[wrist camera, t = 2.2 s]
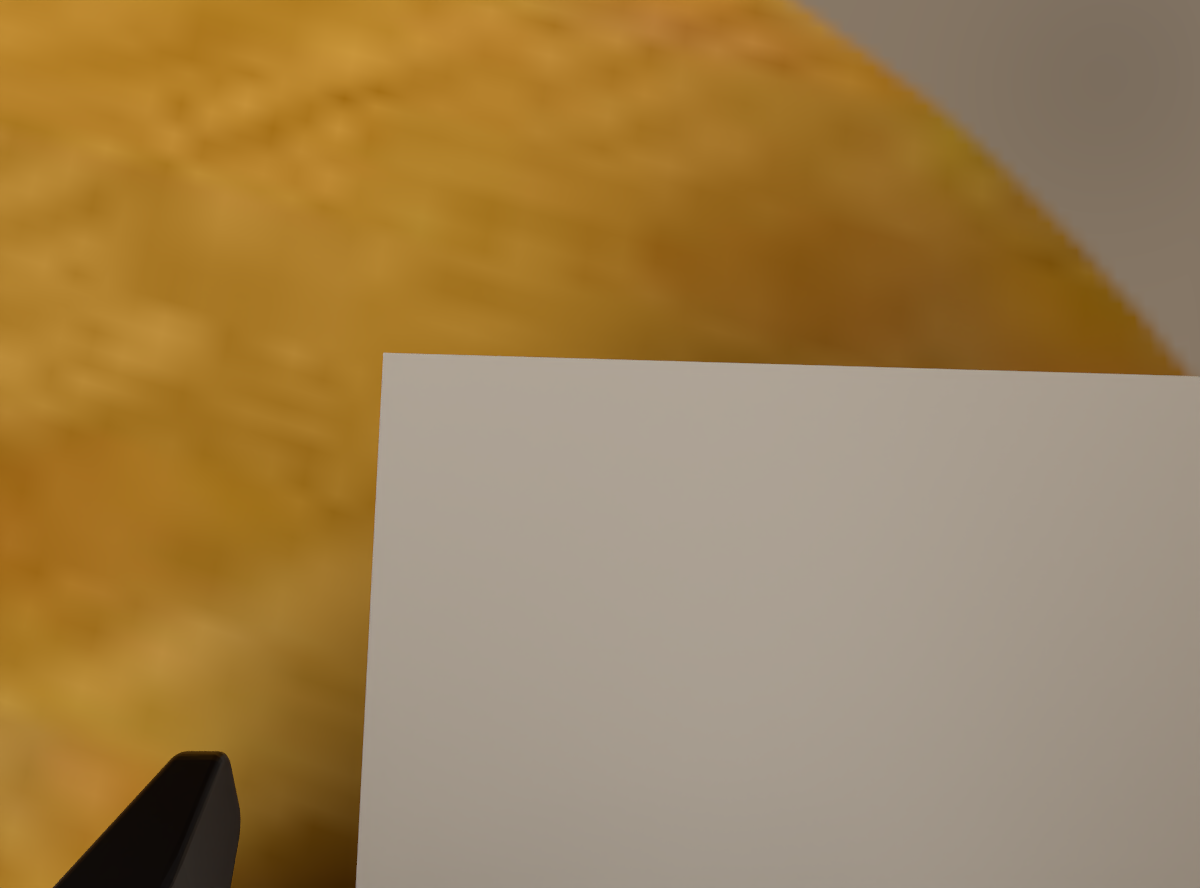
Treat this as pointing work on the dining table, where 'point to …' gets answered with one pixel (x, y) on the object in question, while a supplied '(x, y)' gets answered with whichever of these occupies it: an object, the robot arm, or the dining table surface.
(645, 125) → the dining table surface
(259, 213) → the dining table surface
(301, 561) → the dining table surface
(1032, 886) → the off-white block
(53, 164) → the dining table surface
